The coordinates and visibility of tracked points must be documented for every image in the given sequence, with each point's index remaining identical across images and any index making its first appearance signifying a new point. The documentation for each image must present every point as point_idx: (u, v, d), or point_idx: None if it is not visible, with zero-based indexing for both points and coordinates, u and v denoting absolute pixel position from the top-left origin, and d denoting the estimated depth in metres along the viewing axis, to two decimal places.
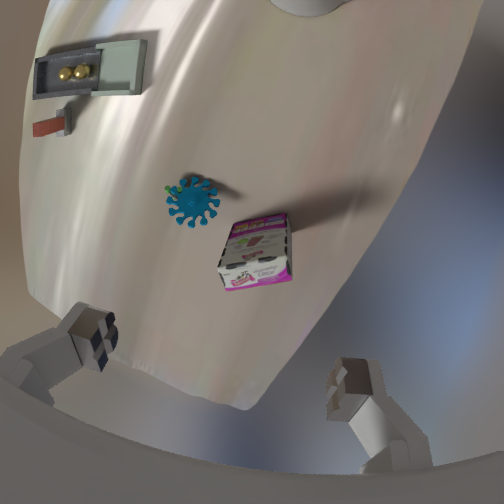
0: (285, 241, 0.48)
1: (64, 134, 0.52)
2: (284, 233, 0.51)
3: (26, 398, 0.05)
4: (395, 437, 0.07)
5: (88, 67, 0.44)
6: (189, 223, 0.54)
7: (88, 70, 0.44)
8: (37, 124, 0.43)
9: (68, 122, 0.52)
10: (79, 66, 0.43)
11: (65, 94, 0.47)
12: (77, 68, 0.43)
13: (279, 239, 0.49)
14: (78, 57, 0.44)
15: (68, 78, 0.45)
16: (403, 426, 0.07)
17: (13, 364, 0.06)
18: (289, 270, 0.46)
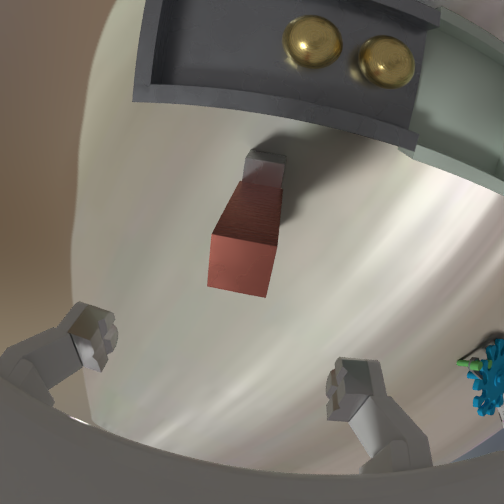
0: None
1: None
2: None
3: (26, 398, 0.05)
4: (395, 437, 0.07)
5: None
6: (491, 411, 0.24)
7: None
8: (244, 246, 0.13)
9: None
10: (399, 45, 0.12)
11: (305, 116, 0.16)
12: (394, 49, 0.12)
13: None
14: (343, 7, 0.14)
15: (329, 63, 0.14)
16: (403, 426, 0.07)
17: (13, 364, 0.06)
18: None
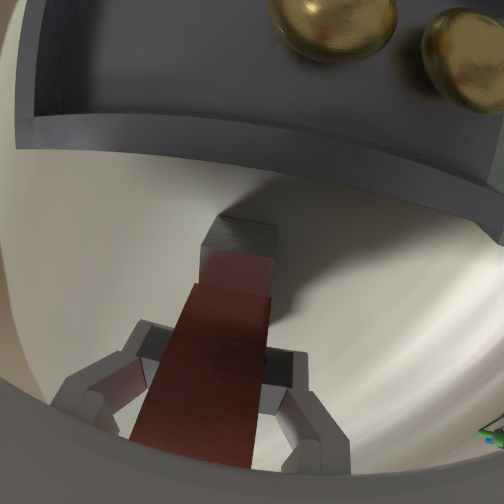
0: None
1: None
2: None
3: (26, 398, 0.05)
4: (312, 437, 0.07)
5: None
6: None
7: None
8: None
9: None
10: None
11: (318, 167, 0.08)
12: (502, 38, 0.04)
13: None
14: None
15: (370, 53, 0.06)
16: (320, 425, 0.07)
17: (78, 397, 0.06)
18: None
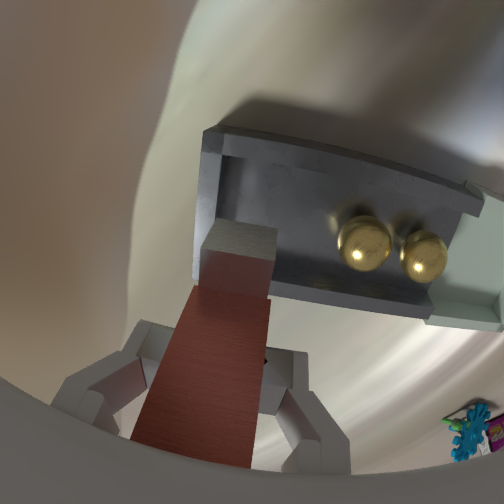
0: None
1: None
2: None
3: (26, 398, 0.05)
4: (312, 436, 0.07)
5: None
6: (465, 459, 0.28)
7: None
8: None
9: None
10: (439, 254, 0.16)
11: (347, 304, 0.20)
12: (434, 260, 0.16)
13: None
14: (396, 190, 0.18)
15: None
16: (320, 425, 0.07)
17: (78, 397, 0.06)
18: None
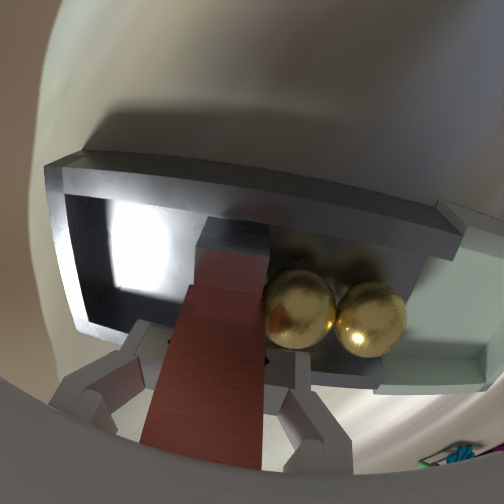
0: None
1: None
2: None
3: (26, 398, 0.05)
4: (314, 437, 0.07)
5: None
6: None
7: None
8: None
9: None
10: (395, 323, 0.11)
11: None
12: (388, 334, 0.11)
13: None
14: None
15: None
16: (323, 425, 0.07)
17: (76, 396, 0.06)
18: None
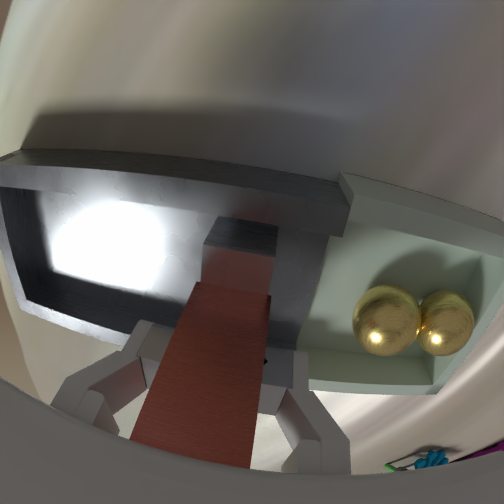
0: None
1: None
2: None
3: (26, 398, 0.05)
4: (312, 436, 0.07)
5: None
6: None
7: None
8: None
9: None
10: (458, 326, 0.11)
11: None
12: (449, 333, 0.12)
13: None
14: None
15: None
16: (320, 425, 0.07)
17: (78, 397, 0.06)
18: None
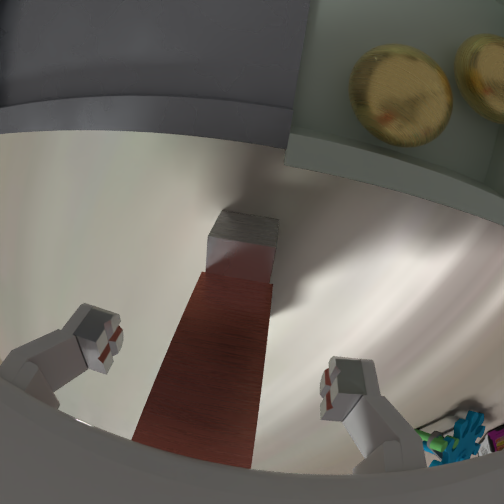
0: None
1: None
2: None
3: (26, 398, 0.05)
4: (388, 438, 0.07)
5: None
6: None
7: None
8: None
9: None
10: None
11: (82, 121, 0.09)
12: (503, 57, 0.05)
13: None
14: None
15: None
16: (397, 426, 0.07)
17: (18, 367, 0.06)
18: None
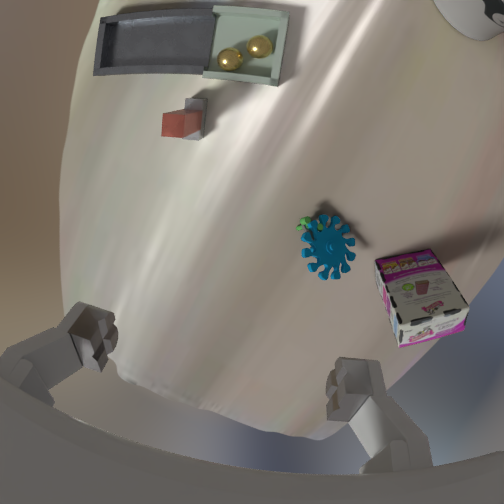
0: (456, 288, 0.37)
1: (198, 137, 0.40)
2: (448, 277, 0.39)
3: (26, 398, 0.05)
4: (395, 437, 0.07)
5: (270, 43, 0.32)
6: (323, 274, 0.43)
7: (269, 47, 0.32)
8: (174, 116, 0.32)
9: (203, 120, 0.40)
10: (255, 39, 0.31)
11: (154, 70, 0.35)
12: (252, 41, 0.32)
13: (449, 286, 0.37)
14: (175, 21, 0.33)
15: None
16: (403, 426, 0.07)
17: (13, 364, 0.06)
18: (465, 321, 0.34)
